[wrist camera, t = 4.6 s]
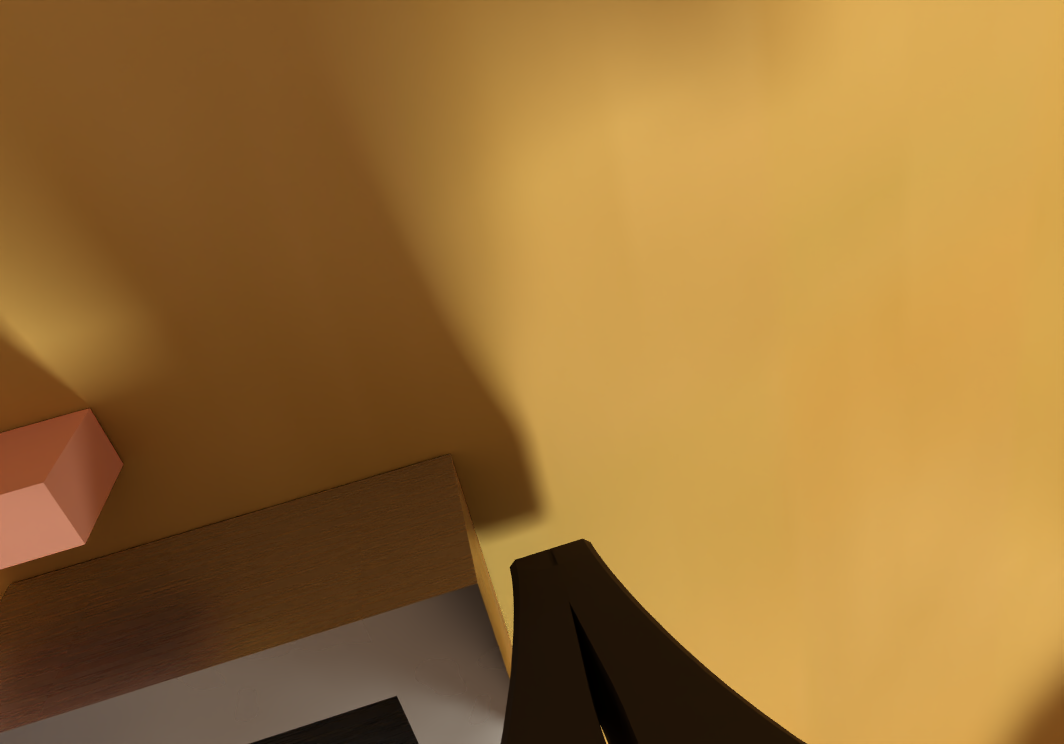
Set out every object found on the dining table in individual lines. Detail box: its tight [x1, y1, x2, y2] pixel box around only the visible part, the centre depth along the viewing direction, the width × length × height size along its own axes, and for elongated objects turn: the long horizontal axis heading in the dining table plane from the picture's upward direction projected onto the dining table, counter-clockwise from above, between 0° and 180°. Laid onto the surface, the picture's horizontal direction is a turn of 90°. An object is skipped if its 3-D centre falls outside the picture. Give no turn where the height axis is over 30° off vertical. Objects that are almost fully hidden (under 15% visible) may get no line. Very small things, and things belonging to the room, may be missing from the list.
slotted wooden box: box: [0, 454, 512, 744], centre depth 11 cm, size 7×4×3 cm, turn 102°
